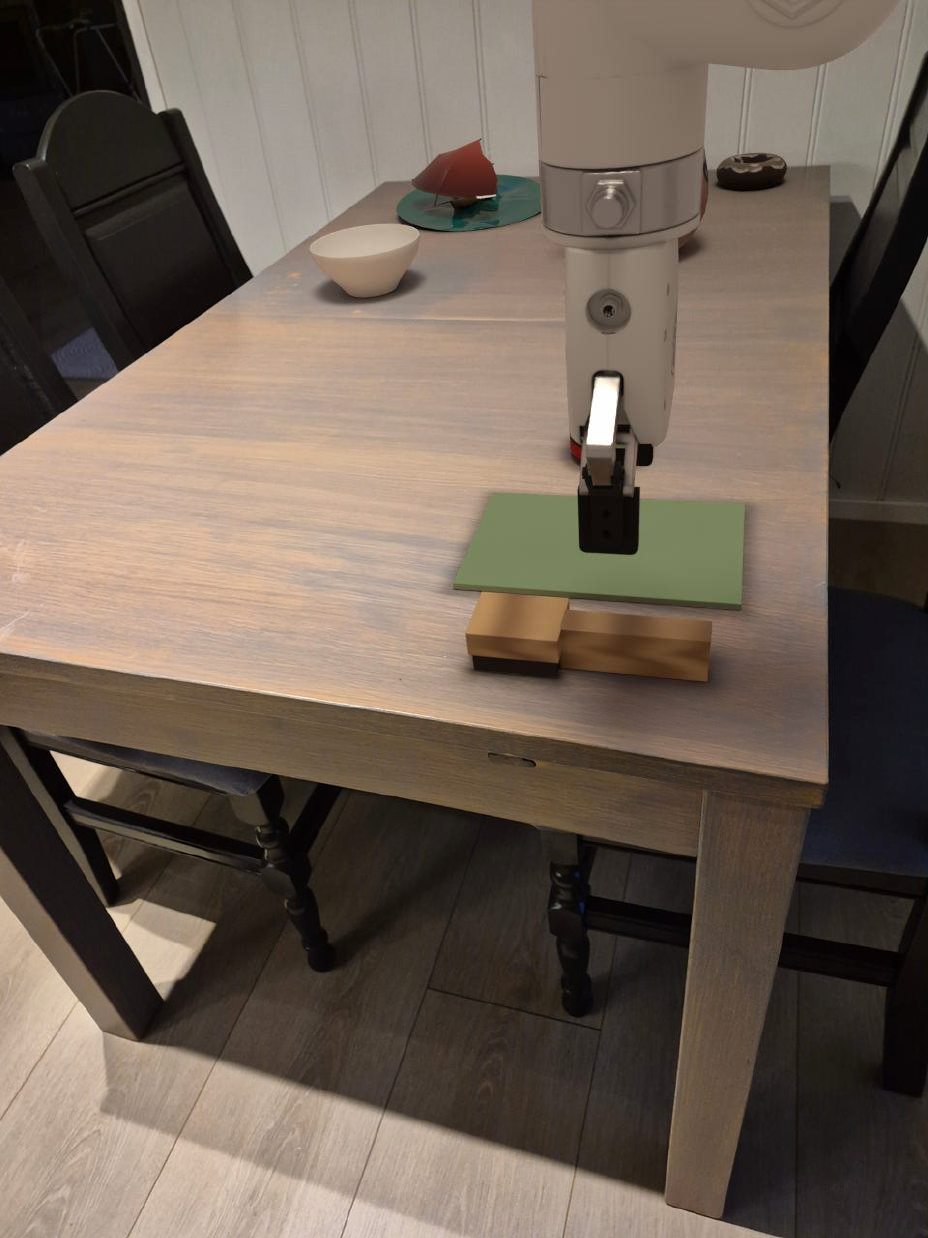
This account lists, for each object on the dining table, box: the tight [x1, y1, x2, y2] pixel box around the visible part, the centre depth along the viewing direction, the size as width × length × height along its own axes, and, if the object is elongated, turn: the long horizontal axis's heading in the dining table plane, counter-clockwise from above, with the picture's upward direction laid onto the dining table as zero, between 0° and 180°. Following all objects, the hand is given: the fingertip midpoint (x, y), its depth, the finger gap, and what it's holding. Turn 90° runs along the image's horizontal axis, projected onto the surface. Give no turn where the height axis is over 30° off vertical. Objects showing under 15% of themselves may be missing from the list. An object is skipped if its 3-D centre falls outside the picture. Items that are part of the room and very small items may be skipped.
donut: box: [715, 152, 788, 190], centre depth 154 cm, size 12×12×4 cm
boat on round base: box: [395, 138, 541, 232], centre depth 158 cm, size 28×28×11 cm
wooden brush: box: [464, 591, 713, 682], centre depth 61 cm, size 16×5×4 cm, turn 75°
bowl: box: [309, 223, 421, 298], centre depth 129 cm, size 16×16×7 cm
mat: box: [452, 492, 746, 611], centre depth 73 cm, size 22×14×1 cm, turn 75°
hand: (618, 504), depth 52 cm, fingers open, 9 cm apart
